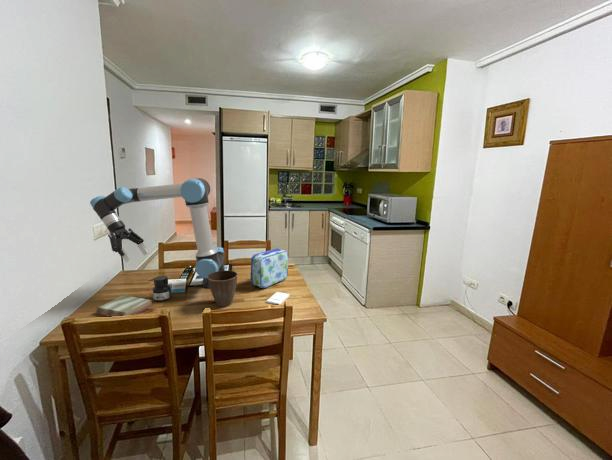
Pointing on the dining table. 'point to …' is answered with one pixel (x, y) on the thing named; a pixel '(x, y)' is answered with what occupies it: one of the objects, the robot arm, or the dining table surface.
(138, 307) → the mat platform
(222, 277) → the plant pot
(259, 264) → the lunch box
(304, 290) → the dining table surface
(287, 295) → the external hard drive
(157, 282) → the ink bottle
